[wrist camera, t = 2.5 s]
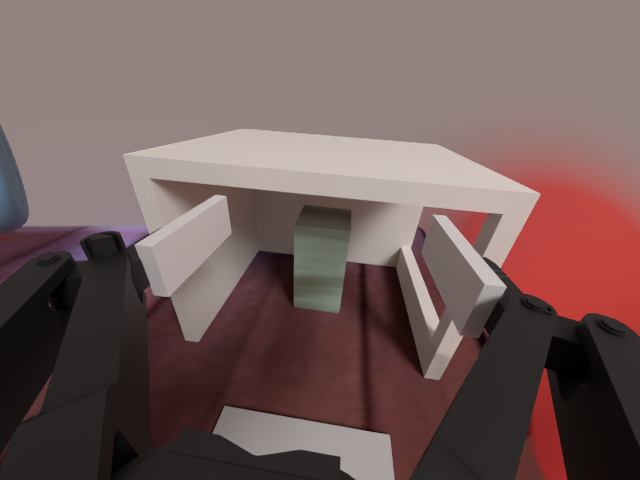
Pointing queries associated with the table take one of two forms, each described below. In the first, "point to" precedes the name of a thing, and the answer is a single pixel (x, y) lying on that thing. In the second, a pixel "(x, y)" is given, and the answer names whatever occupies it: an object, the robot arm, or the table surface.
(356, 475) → the grey mat
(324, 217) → the sage block
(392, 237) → the nook cabinet
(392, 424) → the table surface
